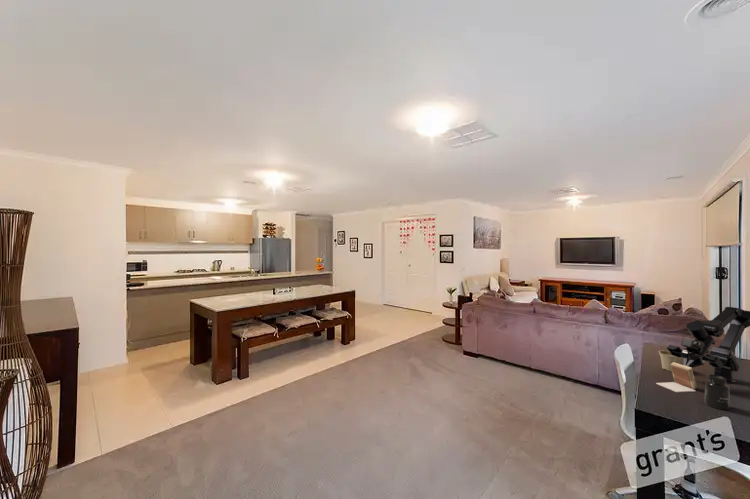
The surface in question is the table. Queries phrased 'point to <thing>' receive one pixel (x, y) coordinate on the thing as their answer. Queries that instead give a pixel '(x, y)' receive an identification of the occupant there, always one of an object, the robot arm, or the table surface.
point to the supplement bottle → (717, 392)
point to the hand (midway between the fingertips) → (684, 369)
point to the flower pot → (668, 359)
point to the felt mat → (676, 387)
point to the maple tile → (683, 375)
